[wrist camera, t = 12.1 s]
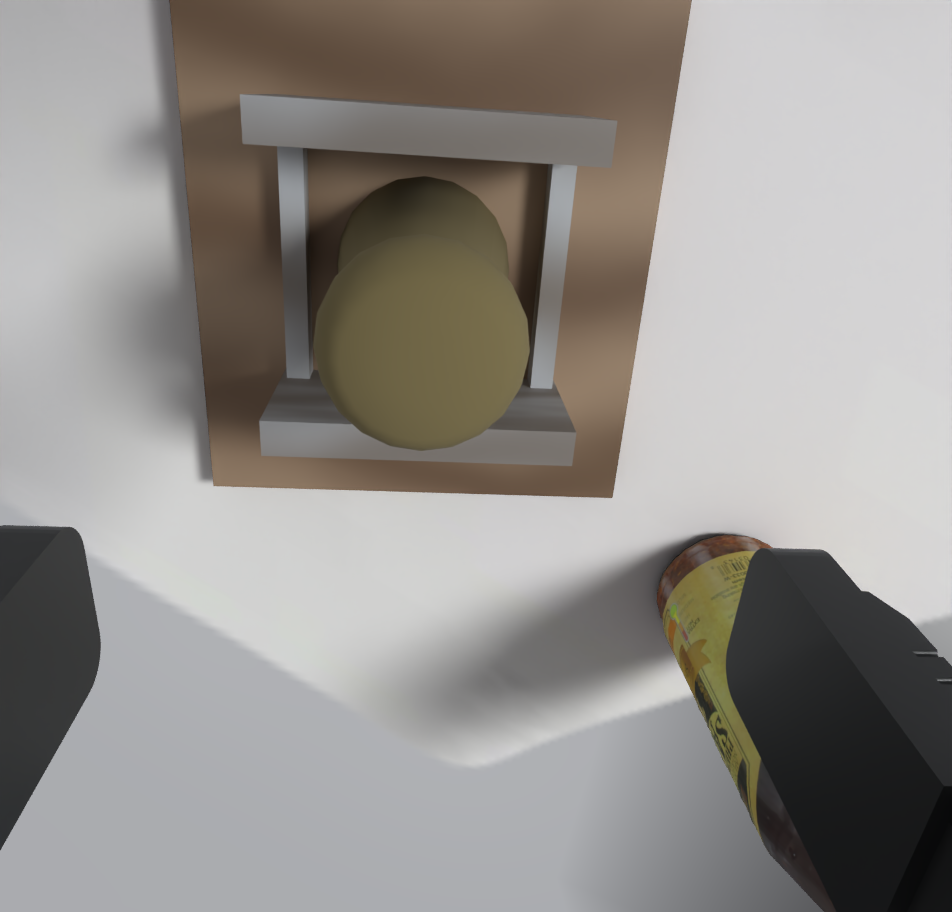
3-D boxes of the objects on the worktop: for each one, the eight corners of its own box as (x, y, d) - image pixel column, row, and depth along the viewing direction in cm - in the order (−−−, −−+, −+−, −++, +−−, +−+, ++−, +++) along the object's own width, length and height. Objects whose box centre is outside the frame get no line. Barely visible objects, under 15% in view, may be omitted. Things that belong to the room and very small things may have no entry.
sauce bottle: (622, 592, 35) (830, 1123, 17) (728, 500, 33) (1084, 984, 15) (714, 664, 37) (985, 1203, 19) (818, 582, 35) (1223, 1090, 17)
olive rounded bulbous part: (317, 317, 28) (255, 445, 18) (366, 148, 25) (327, 184, 15) (474, 370, 29) (499, 517, 19) (535, 213, 26) (600, 286, 17)
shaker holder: (174, -51, 23) (98, -94, 18) (683, -8, 25) (755, -36, 19) (219, 474, 31) (176, 555, 26) (607, 486, 32) (643, 565, 27)
